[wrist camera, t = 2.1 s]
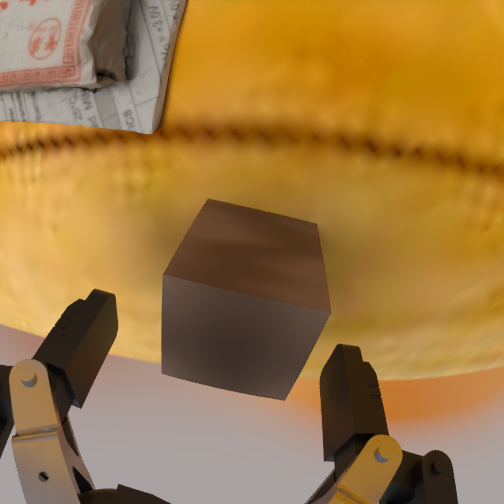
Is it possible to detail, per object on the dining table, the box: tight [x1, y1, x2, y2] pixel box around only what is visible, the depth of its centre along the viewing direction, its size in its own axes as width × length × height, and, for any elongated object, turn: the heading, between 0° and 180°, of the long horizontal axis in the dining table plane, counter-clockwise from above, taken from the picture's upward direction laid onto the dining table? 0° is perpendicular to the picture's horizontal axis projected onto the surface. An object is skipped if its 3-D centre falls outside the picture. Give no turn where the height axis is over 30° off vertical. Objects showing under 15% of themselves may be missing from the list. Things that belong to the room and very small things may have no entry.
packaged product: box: [0, 0, 187, 134], centre depth 8 cm, size 18×5×10 cm
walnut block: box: [161, 199, 331, 400], centre depth 13 cm, size 5×5×6 cm
